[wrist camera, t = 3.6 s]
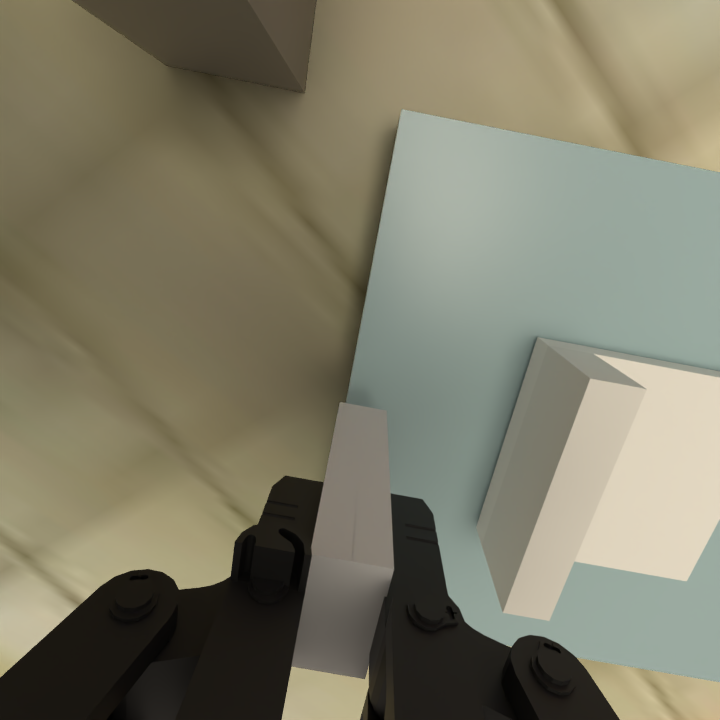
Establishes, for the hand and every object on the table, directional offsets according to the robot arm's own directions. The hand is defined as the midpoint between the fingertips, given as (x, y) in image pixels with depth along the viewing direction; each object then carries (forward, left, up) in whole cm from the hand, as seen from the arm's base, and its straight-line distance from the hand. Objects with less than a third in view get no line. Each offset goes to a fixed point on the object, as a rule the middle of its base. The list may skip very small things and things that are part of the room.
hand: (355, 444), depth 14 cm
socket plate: (0, +9, -5) cm, 11 cm away
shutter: (0, +9, -2) cm, 10 cm away
